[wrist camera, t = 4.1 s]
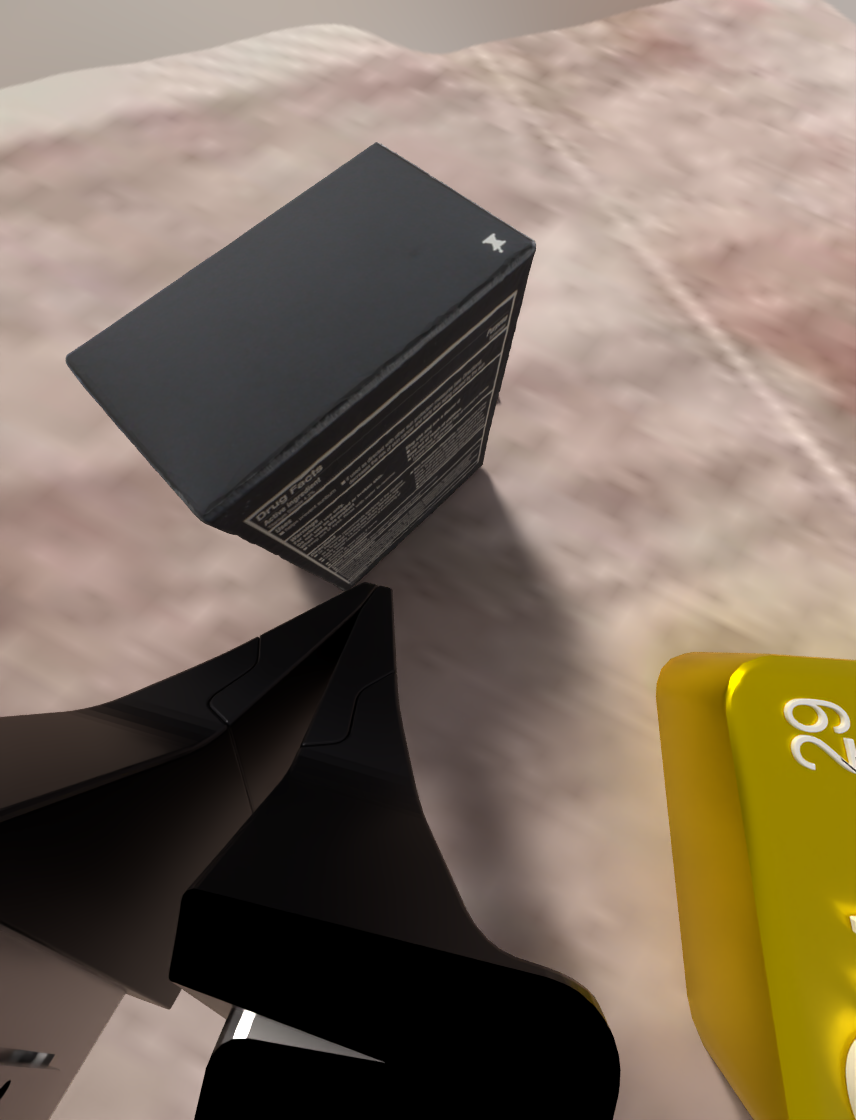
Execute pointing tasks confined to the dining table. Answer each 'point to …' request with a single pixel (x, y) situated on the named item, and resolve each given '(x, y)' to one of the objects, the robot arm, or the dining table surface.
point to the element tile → (767, 870)
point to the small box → (324, 365)
